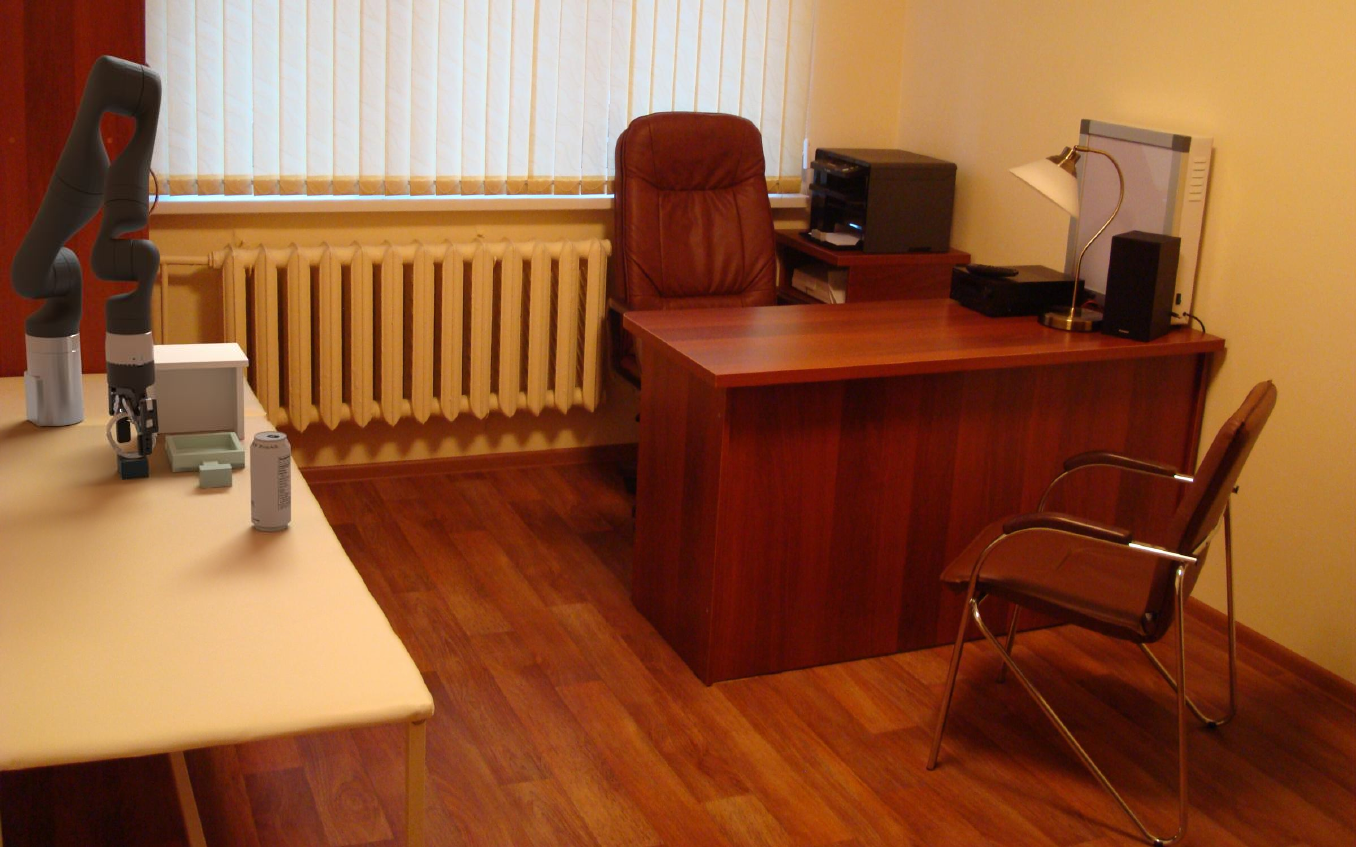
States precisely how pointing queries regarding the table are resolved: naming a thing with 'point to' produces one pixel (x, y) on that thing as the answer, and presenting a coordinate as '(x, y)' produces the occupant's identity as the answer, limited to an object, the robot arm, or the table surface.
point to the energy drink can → (270, 481)
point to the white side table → (199, 387)
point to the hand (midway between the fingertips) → (134, 448)
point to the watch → (129, 455)
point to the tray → (206, 456)
